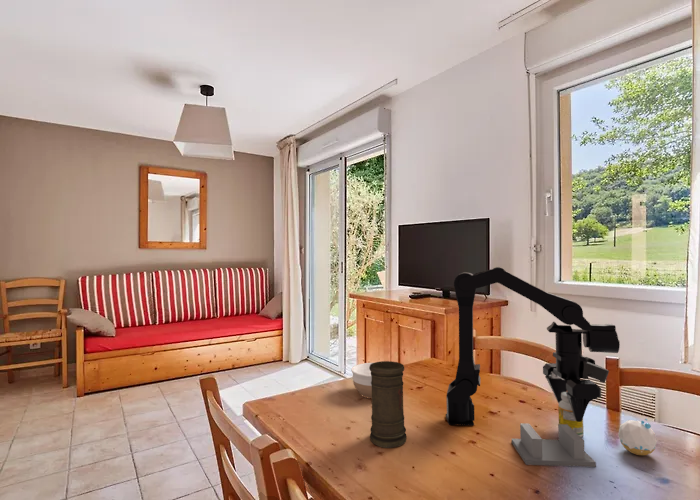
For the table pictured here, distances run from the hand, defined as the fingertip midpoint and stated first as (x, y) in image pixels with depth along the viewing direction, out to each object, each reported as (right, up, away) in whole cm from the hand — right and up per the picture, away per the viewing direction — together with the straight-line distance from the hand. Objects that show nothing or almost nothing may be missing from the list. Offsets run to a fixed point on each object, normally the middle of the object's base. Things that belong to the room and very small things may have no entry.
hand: (570, 413), depth 99 cm
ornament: (+9, -5, -11) cm, 15 cm away
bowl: (-46, -6, +32) cm, 56 cm away
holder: (-10, -5, -10) cm, 15 cm away
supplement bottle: (0, -5, 0) cm, 5 cm away
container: (-45, -6, -2) cm, 46 cm away
